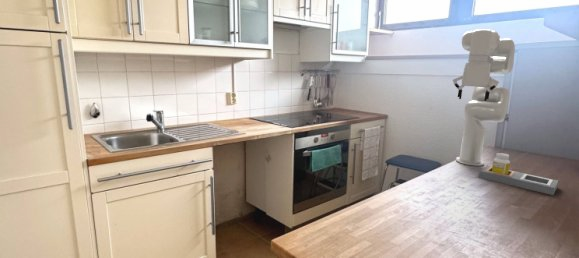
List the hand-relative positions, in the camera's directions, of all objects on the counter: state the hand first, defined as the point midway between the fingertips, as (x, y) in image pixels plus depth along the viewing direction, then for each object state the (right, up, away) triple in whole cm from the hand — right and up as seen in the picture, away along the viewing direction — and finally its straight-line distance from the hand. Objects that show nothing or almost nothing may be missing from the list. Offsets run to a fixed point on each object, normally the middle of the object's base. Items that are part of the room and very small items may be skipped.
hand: (472, 99), depth 139 cm
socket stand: (+18, -36, -2) cm, 40 cm away
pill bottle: (+13, -35, +2) cm, 37 cm away
